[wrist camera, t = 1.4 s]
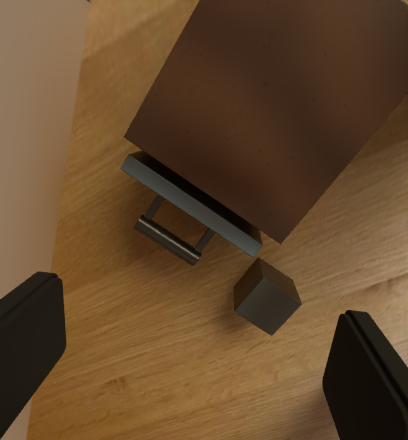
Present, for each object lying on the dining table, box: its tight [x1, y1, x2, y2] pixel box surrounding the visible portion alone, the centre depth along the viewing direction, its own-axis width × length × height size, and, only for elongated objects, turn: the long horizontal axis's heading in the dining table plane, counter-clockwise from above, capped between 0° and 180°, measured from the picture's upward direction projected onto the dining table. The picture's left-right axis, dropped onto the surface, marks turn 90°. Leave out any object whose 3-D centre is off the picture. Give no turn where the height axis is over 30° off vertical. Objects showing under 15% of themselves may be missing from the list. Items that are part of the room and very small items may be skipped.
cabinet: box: [124, 0, 408, 244], centre depth 22 cm, size 15×13×9 cm
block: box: [234, 258, 302, 336], centre depth 30 cm, size 4×4×4 cm
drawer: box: [121, 150, 263, 266], centre depth 24 cm, size 18×11×7 cm, turn 146°
